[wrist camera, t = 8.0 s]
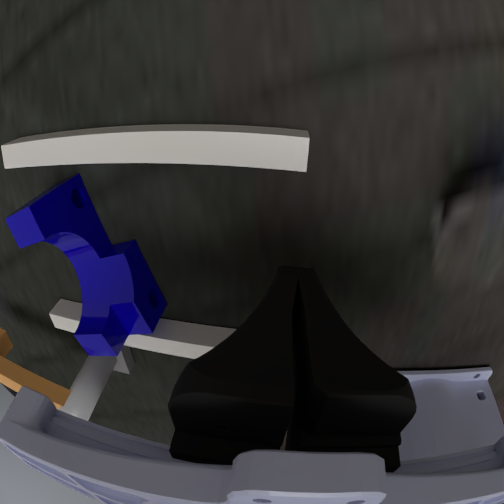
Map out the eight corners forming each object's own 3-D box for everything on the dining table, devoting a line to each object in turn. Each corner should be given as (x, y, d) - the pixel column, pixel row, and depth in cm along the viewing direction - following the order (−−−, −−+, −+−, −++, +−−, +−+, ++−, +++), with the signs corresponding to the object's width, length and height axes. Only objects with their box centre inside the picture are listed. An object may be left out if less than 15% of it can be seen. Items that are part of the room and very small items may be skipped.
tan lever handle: (114, 351, 18) (80, 417, 14) (118, 368, 19) (88, 430, 15) (0, 306, 18) (-37, 352, 14) (7, 323, 19) (-27, 368, 15)
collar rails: (307, 130, 11) (309, 138, 10) (274, 385, 19) (272, 404, 18) (20, 137, 12) (1, 145, 11) (81, 349, 20) (73, 364, 19)
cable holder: (168, 301, 17) (142, 356, 13) (119, 307, 18) (89, 355, 14) (104, 161, 13) (51, 195, 10) (55, 183, 14) (4, 218, 11)
